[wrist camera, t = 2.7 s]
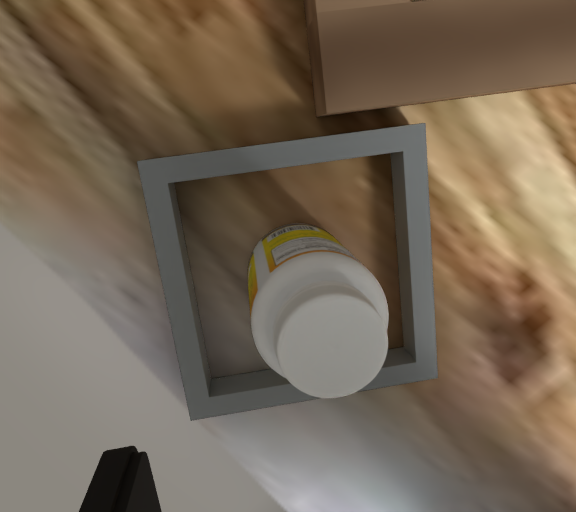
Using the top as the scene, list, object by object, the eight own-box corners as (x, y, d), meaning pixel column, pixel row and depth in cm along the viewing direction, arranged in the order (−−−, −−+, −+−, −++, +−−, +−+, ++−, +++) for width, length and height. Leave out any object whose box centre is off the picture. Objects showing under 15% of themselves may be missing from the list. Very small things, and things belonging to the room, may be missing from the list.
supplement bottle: (299, 334, 26) (335, 448, 17) (226, 274, 25) (217, 360, 15) (365, 263, 26) (443, 338, 16) (293, 199, 25) (330, 237, 15)
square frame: (424, 361, 28) (437, 377, 26) (194, 400, 27) (190, 420, 25) (410, 124, 24) (425, 123, 22) (145, 159, 23) (136, 161, 21)
